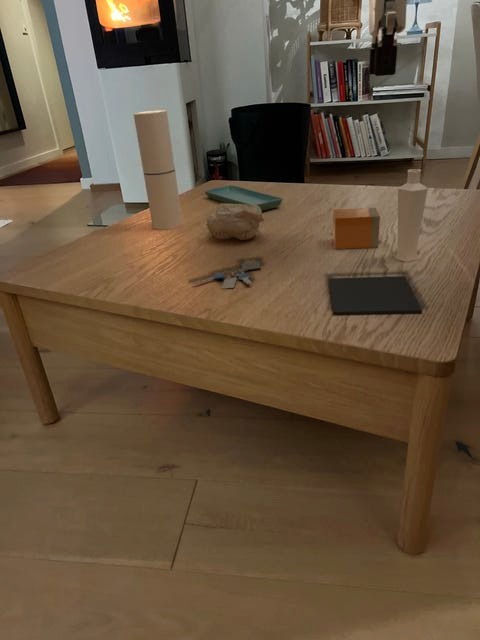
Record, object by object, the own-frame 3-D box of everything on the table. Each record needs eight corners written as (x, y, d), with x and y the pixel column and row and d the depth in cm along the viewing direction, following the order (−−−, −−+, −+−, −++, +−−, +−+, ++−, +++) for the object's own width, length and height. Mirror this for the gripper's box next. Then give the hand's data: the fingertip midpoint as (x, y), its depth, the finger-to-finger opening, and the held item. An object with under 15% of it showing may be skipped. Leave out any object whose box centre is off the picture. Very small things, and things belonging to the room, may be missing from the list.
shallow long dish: (204, 197, 135) (203, 189, 134) (231, 191, 139) (230, 183, 138) (253, 215, 115) (253, 205, 114) (284, 208, 119) (283, 198, 118)
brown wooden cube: (373, 237, 95) (375, 207, 92) (378, 247, 89) (379, 216, 86) (332, 239, 96) (333, 209, 93) (334, 249, 90) (335, 218, 88)
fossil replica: (208, 234, 105) (210, 252, 97) (201, 198, 101) (202, 214, 92) (262, 224, 105) (268, 242, 97) (257, 188, 101) (263, 203, 92)
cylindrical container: (148, 230, 111) (128, 114, 100) (158, 221, 117) (140, 111, 106) (177, 229, 110) (160, 112, 98) (186, 220, 116) (171, 109, 104)
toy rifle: (251, 261, 88) (251, 257, 88) (284, 271, 82) (284, 267, 82) (192, 286, 80) (191, 282, 80) (224, 299, 74) (223, 294, 74)
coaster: (404, 278, 76) (405, 275, 76) (422, 313, 65) (422, 310, 65) (328, 281, 77) (328, 278, 77) (333, 315, 67) (333, 311, 67)
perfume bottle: (415, 264, 81) (424, 174, 74) (390, 260, 83) (396, 172, 76) (424, 255, 84) (434, 168, 77) (400, 251, 86) (407, 166, 79)
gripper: (425, -67, 65) (413, 74, 73) (405, -43, 80) (397, 71, 88) (368, -60, 66) (362, 78, 74) (359, -38, 81) (355, 75, 89)
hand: (381, 74), depth 81 cm, fingers open, 9 cm apart
